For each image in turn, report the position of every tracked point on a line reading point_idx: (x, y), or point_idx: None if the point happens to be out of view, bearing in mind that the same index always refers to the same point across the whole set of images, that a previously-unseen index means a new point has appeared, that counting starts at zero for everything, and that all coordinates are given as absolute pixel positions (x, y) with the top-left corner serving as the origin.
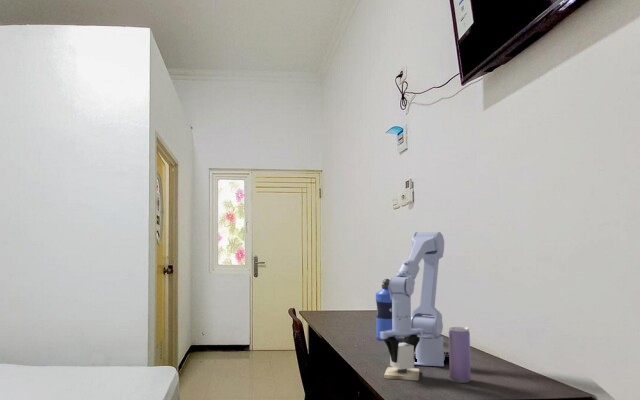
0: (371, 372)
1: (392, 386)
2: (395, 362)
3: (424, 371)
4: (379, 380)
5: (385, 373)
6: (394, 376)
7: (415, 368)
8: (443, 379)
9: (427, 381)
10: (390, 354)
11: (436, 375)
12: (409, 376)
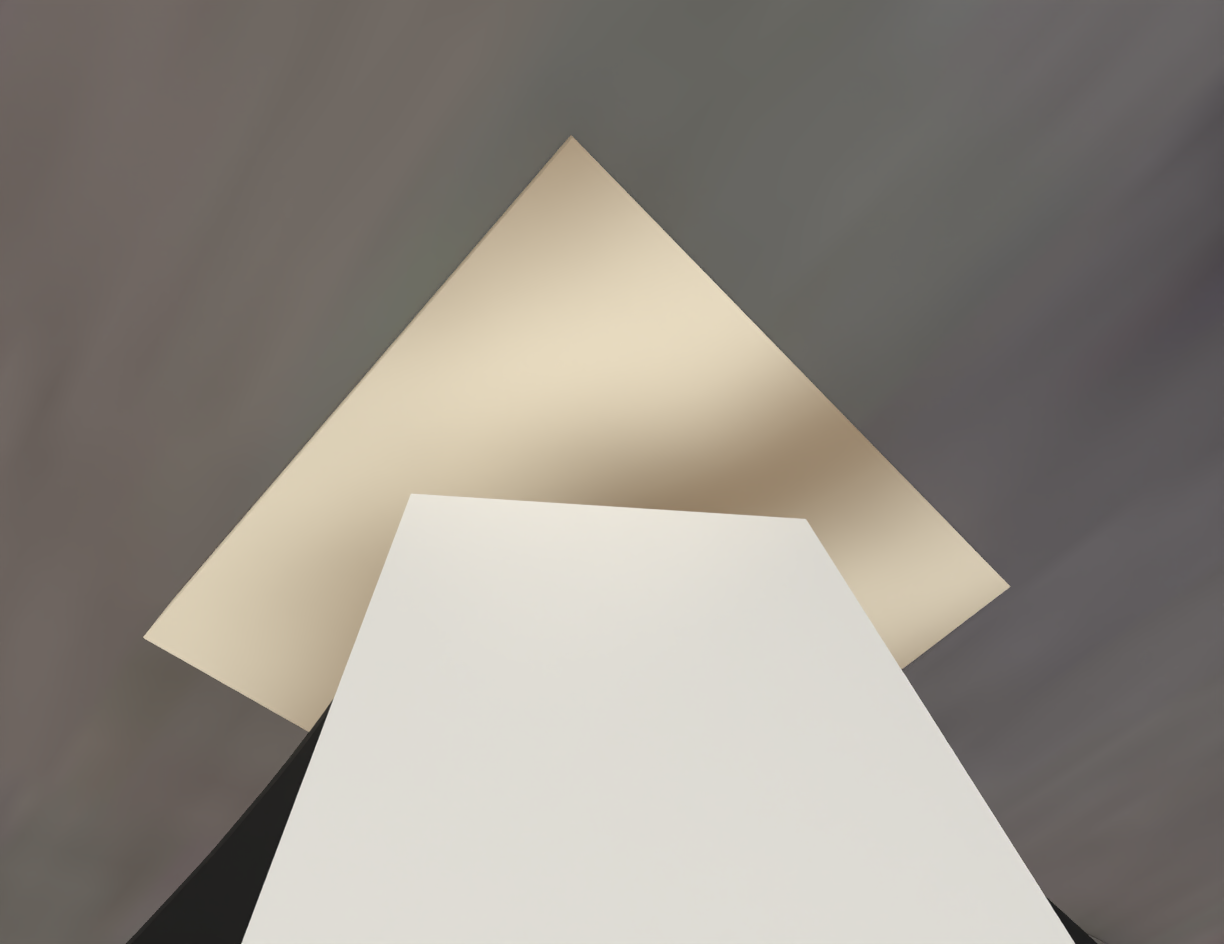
0: (96, 110)
1: (110, 910)
2: None
3: (1070, 562)
4: (35, 652)
5: (215, 573)
6: (311, 721)
7: (966, 546)
8: None
9: None
10: (243, 837)
11: (1000, 778)
12: None
